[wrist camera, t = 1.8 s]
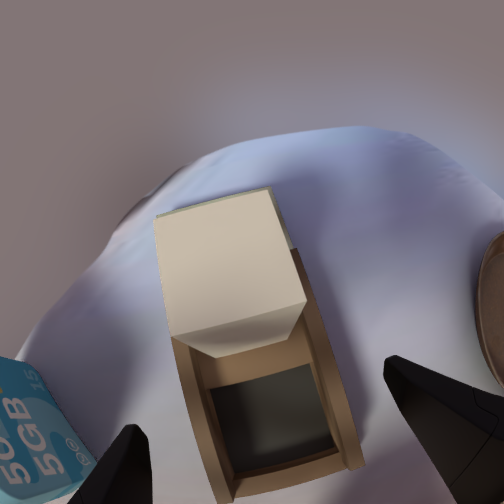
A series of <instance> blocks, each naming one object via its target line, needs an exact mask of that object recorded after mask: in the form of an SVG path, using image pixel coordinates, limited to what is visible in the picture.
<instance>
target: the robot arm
mask: <svg viewBox="0 0 504 504" xmlns="http://www.w3.org/2000/svg"><path fill="white" fill-rule="evenodd" d="M383 377H384V380H385V382H386V384H387V386H388V388H389V390H390V392H391V394H392V396H393V398H394V400H395V402H396V404H397V406H398V408H399V410H400V412H401V414H402V415H403V417H404V418H405V420H406V421H407V423H408V424H409V426H410V428H411V429H412V431H413V432H414V434H415V435H416V437H417V438H418V440H419V442H420V443H421V445H422V446H423V448H424V449H425V451H426V453H427V454H428V456H429V457H430V459H431V461H432V462H433V464H434V465H435V467H436V469H437V470H438V472H439V474H440V475H441V477H442V479H443V480H444V482H445V483H446V485H447V487H448V488H449V490H450V492H451V494H452V495H453V497H454V499H455V500H456V502H457V504H504V397H501V396H498V395H494V394H491V393H488V392H485V391H482V390H480V389H477V388H475V387H473V388H472V386H469V385H467V384H464V383H462V382H459V381H457V380H454V379H452V378H450V377H447V376H445V375H442V374H440V373H437V372H435V371H433V370H430V369H428V368H425V367H423V366H421V365H418V364H416V363H414V362H411V361H409V360H407V359H404V358H402V357H400V356H397V355H393V356H390V357H388V358H386V359H385V361H384V371H383ZM67 504H153V496H152V469H151V461H150V451H149V442H148V438H147V436H146V435H145V434H144V432H143V431H142V430H141V429H140V427H139V426H138V425H137V424H128V425H126V426H125V427H124V428H123V429H122V431H121V432H120V433H119V435H118V436H117V437H116V439H115V440H114V441H113V443H112V444H111V446H110V447H109V448H108V450H107V451H106V452H105V454H104V455H103V456H102V458H101V459H100V460H99V462H98V463H97V464H96V466H95V467H94V469H93V470H92V471H91V473H90V474H89V475H88V477H87V478H86V479H85V481H84V482H83V483H82V485H81V486H80V487H79V490H77V491H76V493H75V494H74V495H73V497H72V498H71V499H70V501H69V502H68V503H67Z"/></svg>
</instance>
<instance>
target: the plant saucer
mask: <svg viewBox="0 0 504 504" xmlns="http://www.w3.org/2000/svg"><path fill="white" fill-rule="evenodd" d="M475 314H476V326H477V333H478V338H479V343H480V346H481V350H482V353H483V356H484V358H485V361H486V363H487V365H488V367H489V369H490V371H491V372H492V374H493V376H494V377H495V379H496V380H497V382H498V383H499V384H500V385H501V387H502V388H503V389H504V231H503V232H501V233H499V234H498V235H497V236H495V237H494V238H493V240H492V241H491V242H490V244H489V245H488V247H487V249H486V252H485V254H484V257H483V260H482V263H481V267H480V270H479V275H478V281H477V288H476V303H475Z"/></svg>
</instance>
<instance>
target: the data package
mask: <svg viewBox="0 0 504 504" xmlns="http://www.w3.org/2000/svg"><path fill="white" fill-rule="evenodd" d="M96 464H97V462H96V460H95V459H94V457H93V456H92V454H91V453H90V452H89V451H88V449H87V448H86V447H85V445H84V444H83V443H82V441H81V440H80V439H79V437H78V436H77V434H76V433H75V432H74V430H73V429H72V427H71V426H70V424H69V423H68V421H67V420H66V418H65V417H64V415H63V414H62V412H61V411H60V409H59V408H58V406H57V404H56V403H55V401H54V399H53V398H52V396H51V394H50V393H49V391H48V389H47V387H46V386H45V384H44V382H43V380H42V378H41V377H40V375H39V374H38V372H37V371H36V370H35V369H34V368H33V367H32V366H30V365H29V364H27V363H25V362H21V361H16V360H12V359H8V358H4V357H1V356H0V504H43V503H46V502H49V501H51V500H54V499H57V498H59V497H62V496H65V495H67V494H70V493H72V492H73V491H75V490H76V489H77V488H79V487H80V486H81V485H82V483H83V482H84V481H85V479H86V478H87V477H88V475H89V474H90V473H91V471H92V470H93V469H94V467H95V466H96Z"/></svg>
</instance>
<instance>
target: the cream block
mask: <svg viewBox="0 0 504 504" xmlns="http://www.w3.org/2000/svg"><path fill="white" fill-rule="evenodd" d="M153 222H154V232H155V241H156V249H157V257H158V264H159V271H160V278H161V285H162V291H163V297H164V303H165V309H166V315H167V320H168V326H169V331H170V336H171V337H173V338H175V339H177V340H179V341H181V342H183V343H185V344H187V345H189V346H191V347H193V348H195V349H197V350H199V351H201V352H203V353H205V354H208V355H210V356H212V357H214V358H219V357H223V356H228V355H232V354H236V353H240V352H244V351H247V350H251V349H255V348H259V347H262V346H266V345H270V344H273V343H277V342H280V341H284V340H287V339H288V337H289V335H290V333H291V331H292V329H293V327H294V325H295V323H296V322H297V320H298V318H299V316H300V314H301V312H302V310H303V308H304V306H305V304H306V302H307V299H306V296H305V293H304V291H303V288H302V285H301V282H300V279H299V276H298V273H297V270H296V267H295V264H294V262H293V259H292V256H291V253H290V250H289V247H288V245H287V242H286V239H285V236H284V233H283V231H282V228H281V225H280V222H279V220H278V217H277V214H276V212H275V209H274V206H273V203H272V201H271V198H270V195H269V193H268V190H263V191H259V192H255V193H251V194H247V195H242V196H238V197H234V198H230V199H226V200H222V201H219V202H215V203H211V204H207V205H203V206H200V207H196V208H192V209H188V210H185V211H181V212H178V213H174V214H171V215H167V216H164V217H160V218H157V219H153Z"/></svg>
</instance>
